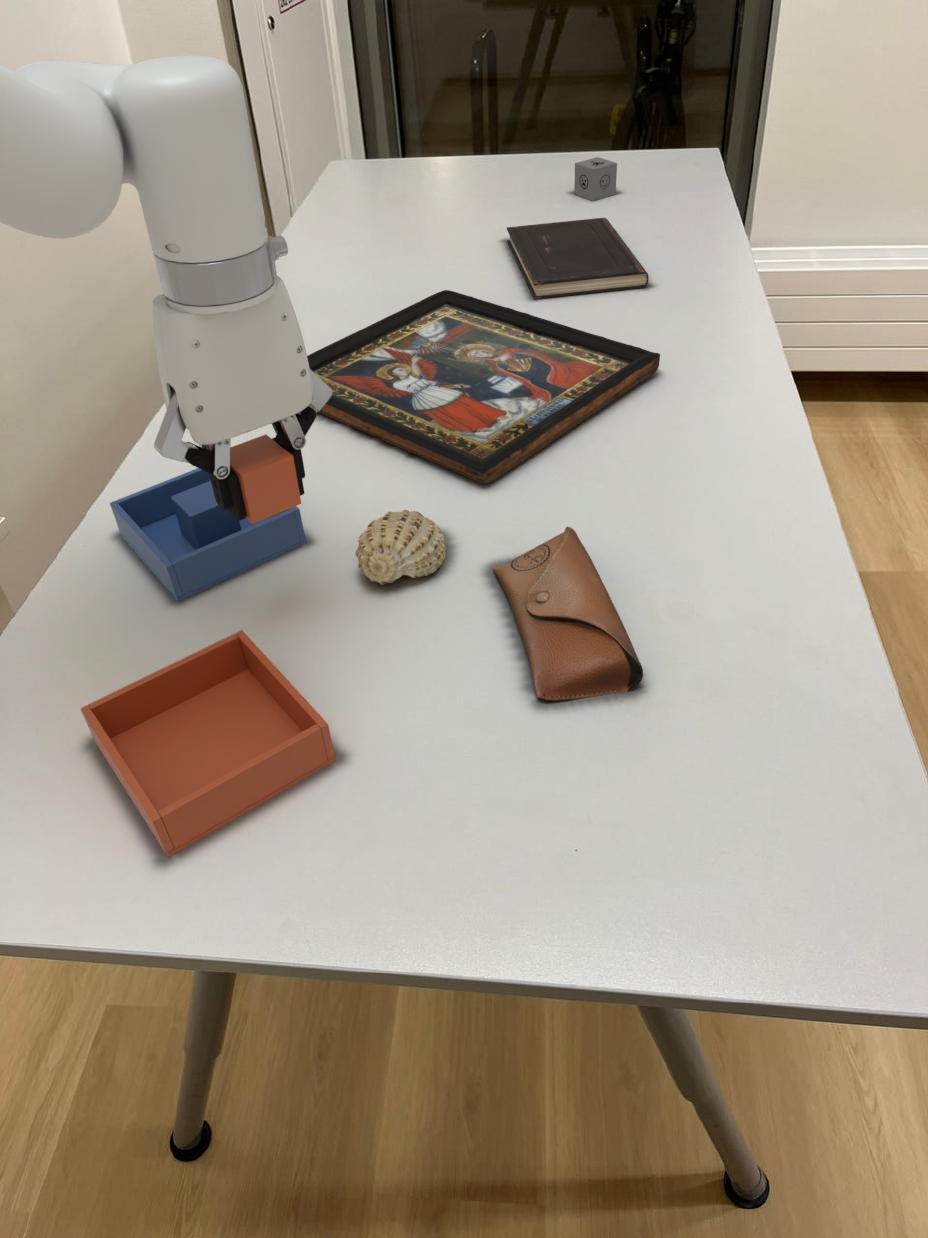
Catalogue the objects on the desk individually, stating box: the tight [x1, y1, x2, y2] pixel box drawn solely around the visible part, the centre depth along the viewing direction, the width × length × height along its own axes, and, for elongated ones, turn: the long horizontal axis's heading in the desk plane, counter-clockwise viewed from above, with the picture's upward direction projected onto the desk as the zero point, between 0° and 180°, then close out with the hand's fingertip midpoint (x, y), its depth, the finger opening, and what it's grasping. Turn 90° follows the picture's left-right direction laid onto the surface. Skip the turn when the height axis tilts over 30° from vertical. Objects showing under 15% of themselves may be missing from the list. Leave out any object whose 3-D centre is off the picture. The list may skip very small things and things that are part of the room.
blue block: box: [171, 481, 241, 550], centre depth 90 cm, size 4×4×4 cm
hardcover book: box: [506, 217, 649, 300], centre depth 139 cm, size 16×23×2 cm
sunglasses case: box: [492, 526, 644, 703], centre depth 78 cm, size 18×7×7 cm
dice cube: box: [573, 156, 618, 202], centre depth 162 cm, size 5×5×5 cm
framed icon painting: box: [307, 289, 661, 484], centre depth 112 cm, size 38×35×3 cm
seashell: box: [355, 509, 447, 586], centre depth 86 cm, size 8×6×10 cm
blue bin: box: [109, 467, 307, 602], centre depth 90 cm, size 13×13×4 cm
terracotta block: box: [230, 434, 302, 524], centre depth 74 cm, size 4×4×4 cm
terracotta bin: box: [80, 629, 337, 858], centre depth 69 cm, size 13×13×4 cm
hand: (263, 498), depth 76 cm, fingers closed on terracotta block, 4 cm apart
